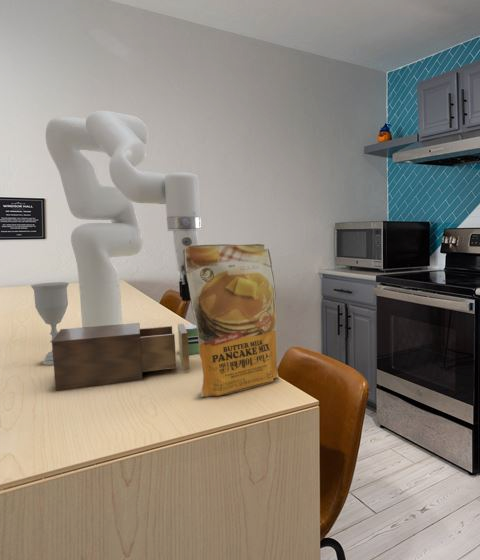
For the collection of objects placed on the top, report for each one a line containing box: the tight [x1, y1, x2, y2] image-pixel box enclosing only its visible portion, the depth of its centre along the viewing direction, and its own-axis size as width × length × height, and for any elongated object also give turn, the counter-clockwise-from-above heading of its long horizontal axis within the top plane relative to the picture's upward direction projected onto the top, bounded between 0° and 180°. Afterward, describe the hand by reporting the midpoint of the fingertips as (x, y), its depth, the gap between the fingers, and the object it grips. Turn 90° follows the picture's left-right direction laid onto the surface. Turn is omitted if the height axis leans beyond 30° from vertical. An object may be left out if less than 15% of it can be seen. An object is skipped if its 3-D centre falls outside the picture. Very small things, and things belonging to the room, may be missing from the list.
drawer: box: [140, 323, 199, 373], centre depth 111 cm, size 18×11×8 cm, turn 119°
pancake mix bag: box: [183, 243, 280, 398], centre depth 98 cm, size 7×19×28 cm, turn 138°
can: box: [184, 324, 199, 355], centre depth 126 cm, size 5×5×6 cm
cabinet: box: [51, 322, 143, 391], centre depth 105 cm, size 15×13×10 cm
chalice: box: [30, 281, 70, 366], centre depth 116 cm, size 7×7×18 cm
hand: (188, 297), depth 124 cm, fingers open, 6 cm apart
